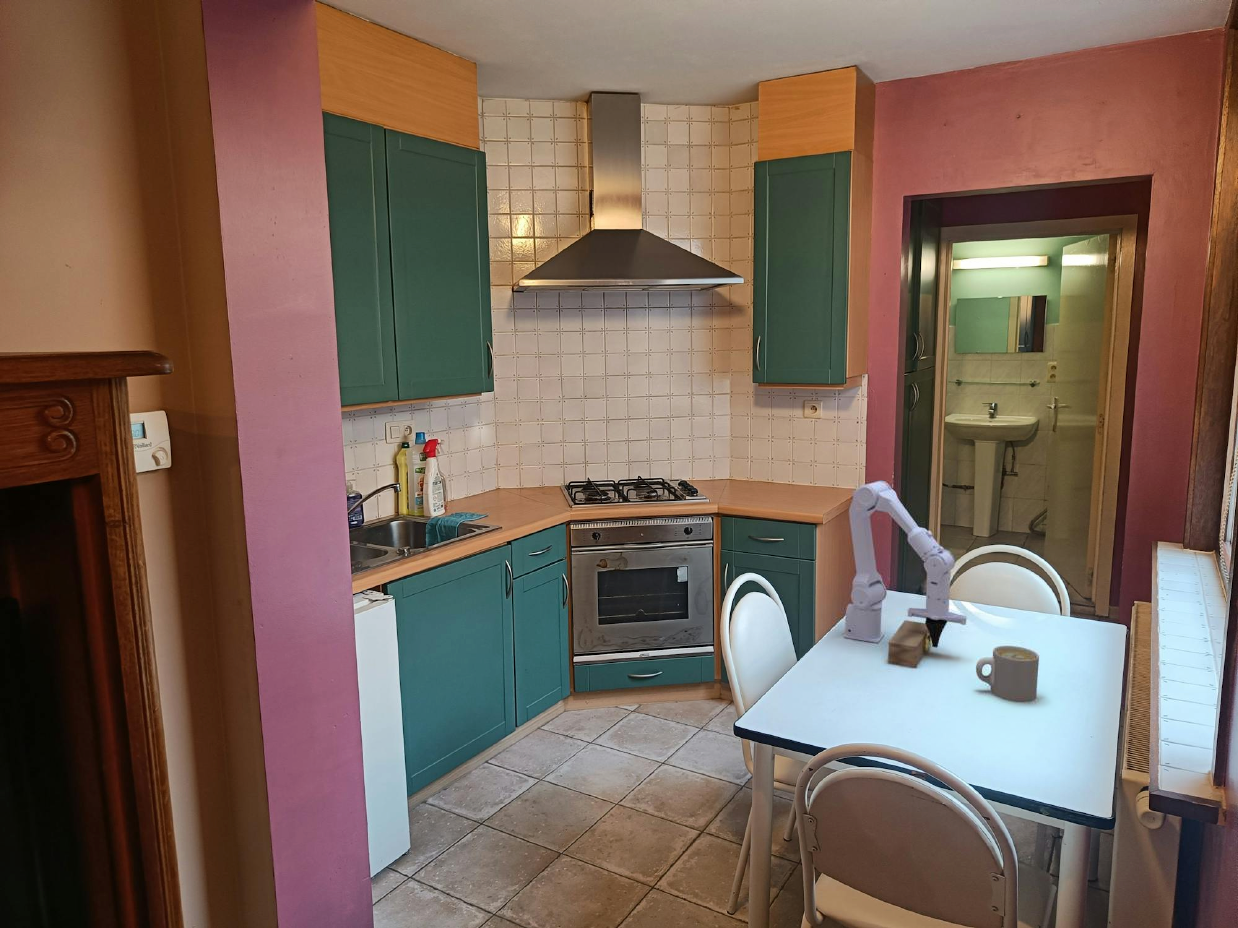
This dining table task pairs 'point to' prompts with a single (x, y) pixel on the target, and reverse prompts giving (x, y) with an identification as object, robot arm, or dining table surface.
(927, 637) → the steel pin
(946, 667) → the dining table surface
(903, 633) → the drawbar beam
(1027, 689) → the coffee mug
